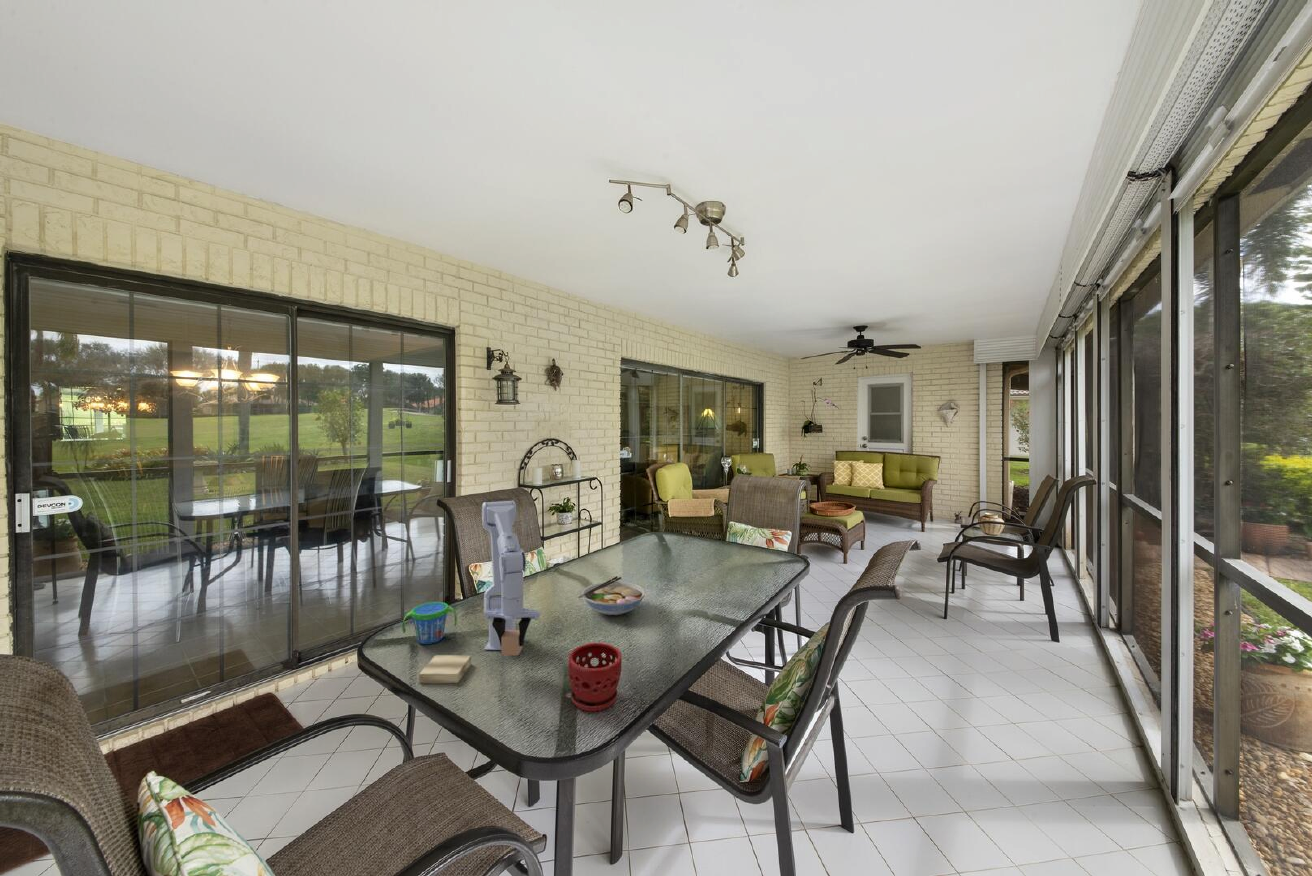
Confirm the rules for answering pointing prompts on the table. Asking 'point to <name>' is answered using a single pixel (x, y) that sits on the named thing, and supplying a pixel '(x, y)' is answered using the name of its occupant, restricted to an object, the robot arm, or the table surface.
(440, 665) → the base
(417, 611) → the snack cup
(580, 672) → the plant pot
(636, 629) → the table surface
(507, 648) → the block
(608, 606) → the ramen bowl
